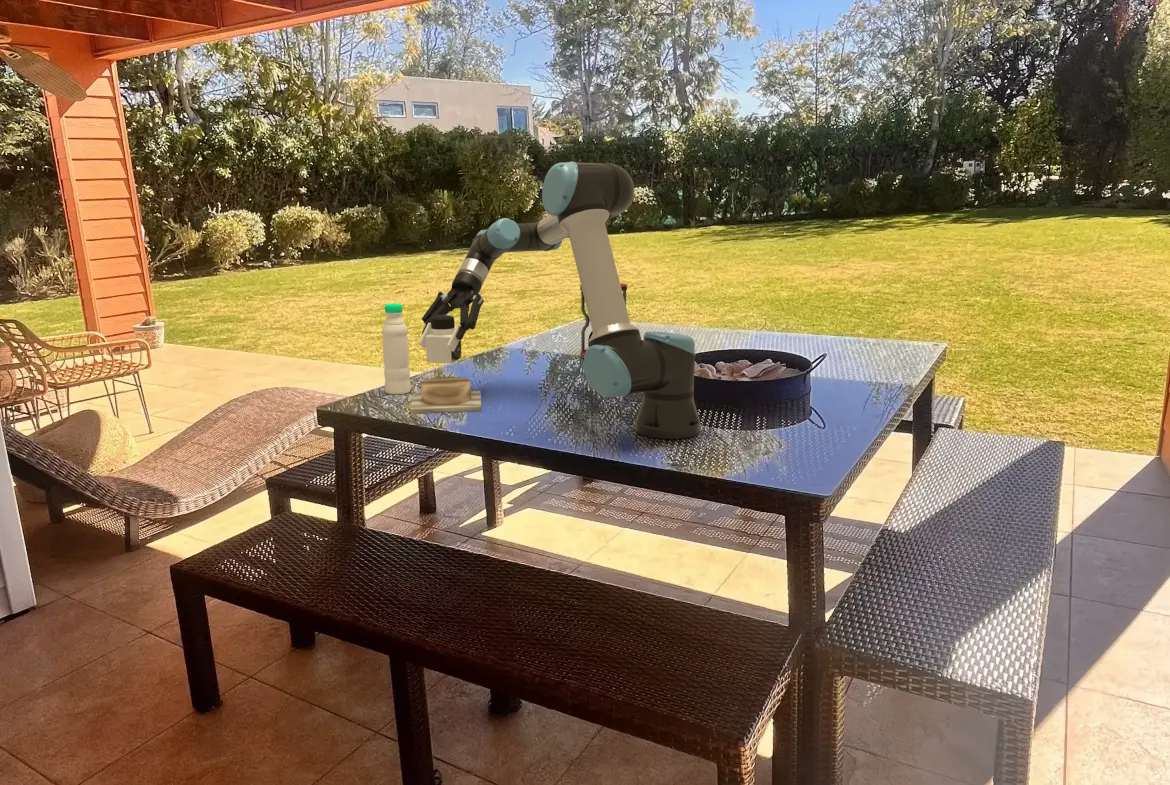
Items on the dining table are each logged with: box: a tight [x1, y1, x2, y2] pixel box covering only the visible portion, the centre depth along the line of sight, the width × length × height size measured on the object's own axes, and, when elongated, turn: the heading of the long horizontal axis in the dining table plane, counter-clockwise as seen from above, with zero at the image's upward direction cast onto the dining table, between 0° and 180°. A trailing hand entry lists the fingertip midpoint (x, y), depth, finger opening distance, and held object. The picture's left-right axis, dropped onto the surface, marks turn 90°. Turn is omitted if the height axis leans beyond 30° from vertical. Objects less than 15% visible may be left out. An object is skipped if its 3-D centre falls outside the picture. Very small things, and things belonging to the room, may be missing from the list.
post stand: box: [409, 376, 482, 415], centre depth 219 cm, size 18×18×6 cm
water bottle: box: [381, 302, 412, 396], centre depth 231 cm, size 7×7×25 cm
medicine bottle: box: [425, 314, 462, 364], centre depth 217 cm, size 7×7×12 cm
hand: (436, 346), depth 214 cm, fingers closed on medicine bottle, 8 cm apart
